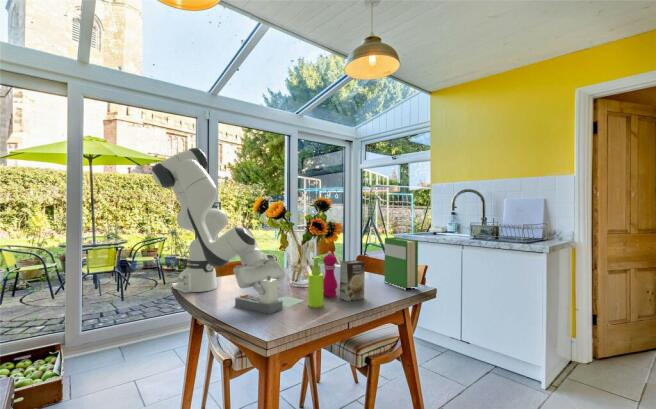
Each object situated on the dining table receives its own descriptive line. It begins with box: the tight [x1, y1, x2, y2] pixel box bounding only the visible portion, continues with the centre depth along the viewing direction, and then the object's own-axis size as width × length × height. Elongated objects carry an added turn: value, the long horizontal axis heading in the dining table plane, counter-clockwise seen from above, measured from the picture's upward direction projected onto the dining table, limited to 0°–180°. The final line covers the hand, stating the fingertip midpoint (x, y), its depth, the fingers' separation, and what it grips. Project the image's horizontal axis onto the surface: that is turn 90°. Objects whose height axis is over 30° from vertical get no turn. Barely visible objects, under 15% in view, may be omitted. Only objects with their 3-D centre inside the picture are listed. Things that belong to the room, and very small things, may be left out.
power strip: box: [234, 293, 284, 315], centre depth 124 cm, size 18×7×5 cm, turn 58°
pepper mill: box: [322, 250, 338, 298], centre depth 146 cm, size 7×7×20 cm
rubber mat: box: [277, 296, 306, 308], centre depth 132 cm, size 11×11×1 cm
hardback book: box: [384, 236, 419, 289], centre depth 164 cm, size 18×7×24 cm, turn 24°
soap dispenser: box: [307, 255, 325, 308], centre depth 128 cm, size 6×7×20 cm
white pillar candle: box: [259, 275, 278, 304], centre depth 122 cm, size 4×4×12 cm
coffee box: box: [339, 260, 366, 302], centre depth 141 cm, size 9×6×16 cm
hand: (269, 292), depth 121 cm, fingers closed on white pillar candle, 5 cm apart
